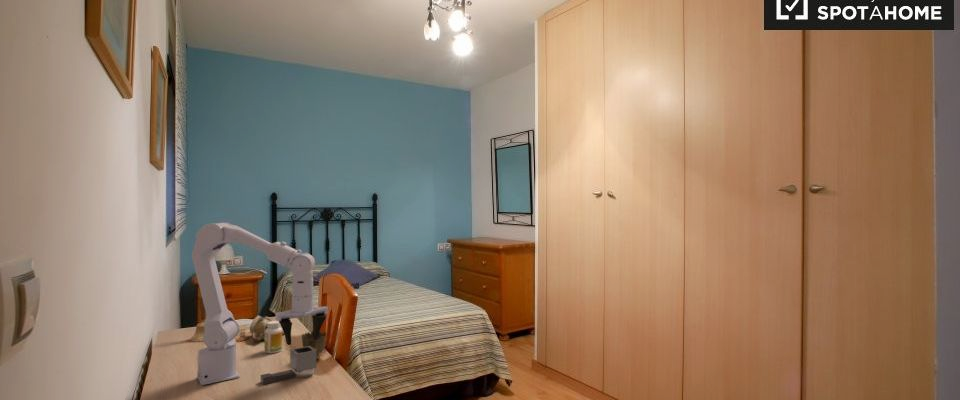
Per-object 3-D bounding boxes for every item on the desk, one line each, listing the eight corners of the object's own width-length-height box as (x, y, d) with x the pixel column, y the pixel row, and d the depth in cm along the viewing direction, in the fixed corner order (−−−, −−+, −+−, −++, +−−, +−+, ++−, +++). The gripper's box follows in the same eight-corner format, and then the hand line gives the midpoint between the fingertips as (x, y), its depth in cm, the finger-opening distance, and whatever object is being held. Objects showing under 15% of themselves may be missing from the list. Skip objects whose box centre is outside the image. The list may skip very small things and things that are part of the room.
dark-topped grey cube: (296, 372, 130) (296, 354, 130) (290, 366, 134) (290, 349, 134) (316, 367, 134) (316, 350, 134) (309, 362, 138) (309, 345, 138)
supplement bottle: (285, 348, 157) (285, 320, 157) (276, 354, 151) (276, 324, 151) (270, 348, 157) (270, 319, 157) (261, 353, 152) (261, 323, 152)
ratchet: (264, 386, 124) (264, 368, 124) (259, 380, 129) (259, 362, 129) (317, 374, 133) (317, 357, 133) (309, 368, 138) (310, 352, 138)
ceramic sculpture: (272, 308, 177) (287, 318, 166) (272, 330, 178) (286, 341, 167) (242, 313, 170) (255, 323, 159) (242, 336, 170) (255, 348, 159)
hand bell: (212, 341, 164) (212, 296, 164) (186, 342, 162) (186, 297, 162) (219, 334, 172) (220, 292, 172) (195, 336, 170) (195, 293, 170)
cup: (331, 357, 148) (331, 332, 148) (312, 364, 142) (312, 338, 142) (315, 353, 152) (315, 329, 152) (296, 360, 146) (296, 334, 146)
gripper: (280, 300, 127) (280, 349, 127) (332, 294, 136) (331, 340, 136) (273, 296, 132) (273, 343, 132) (323, 290, 141) (323, 334, 141)
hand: (302, 341), depth 134 cm, fingers open, 7 cm apart
